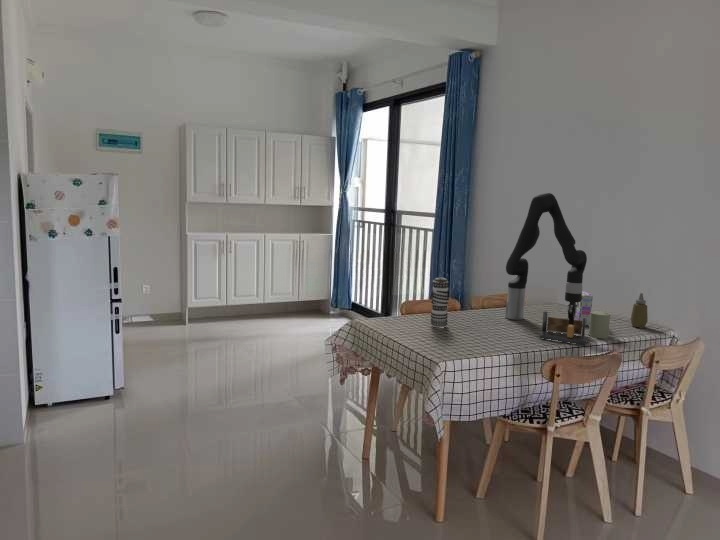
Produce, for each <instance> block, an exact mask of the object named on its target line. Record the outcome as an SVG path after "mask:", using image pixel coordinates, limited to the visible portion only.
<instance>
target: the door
mask: <svg viewBox="0 0 720 540" xmlns="http://www.w3.org/2000/svg"><path fill="white" fill-rule="evenodd" d="M568 325H569V318H563V317H554V316H553V317H552V316H547V327H546V331H554V332H562V333H567V329H568ZM582 328H583V326H582V321H580V320H575V319H574V334H578V335H582Z"/></svg>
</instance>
